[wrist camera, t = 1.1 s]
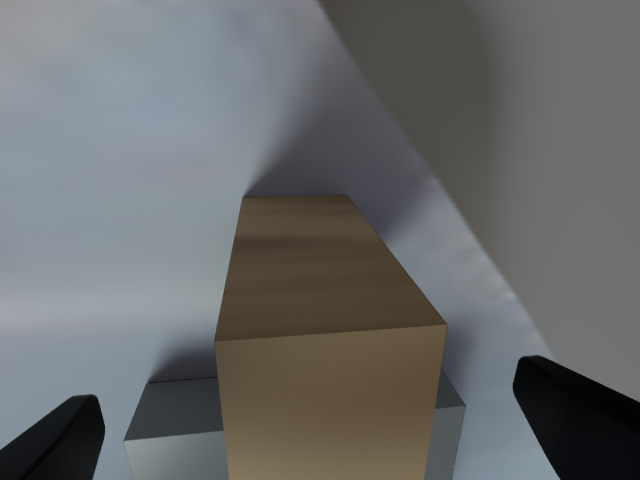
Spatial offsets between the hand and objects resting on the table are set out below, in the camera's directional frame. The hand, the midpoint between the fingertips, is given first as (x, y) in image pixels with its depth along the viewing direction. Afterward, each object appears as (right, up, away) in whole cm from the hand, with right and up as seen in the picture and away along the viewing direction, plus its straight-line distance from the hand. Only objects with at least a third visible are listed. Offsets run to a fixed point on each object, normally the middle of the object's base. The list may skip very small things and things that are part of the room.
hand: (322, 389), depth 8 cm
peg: (-1, +3, +7) cm, 8 cm away
